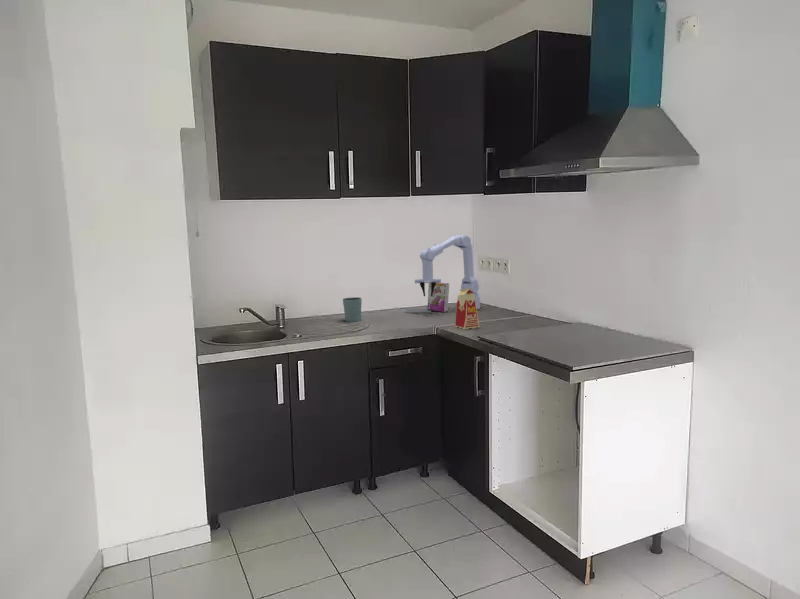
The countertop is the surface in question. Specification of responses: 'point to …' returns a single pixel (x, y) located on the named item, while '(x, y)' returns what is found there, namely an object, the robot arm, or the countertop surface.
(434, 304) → the candy bar box
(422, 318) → the countertop surface
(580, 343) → the countertop surface
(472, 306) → the milk carton
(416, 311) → the mat
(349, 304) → the teal cup
